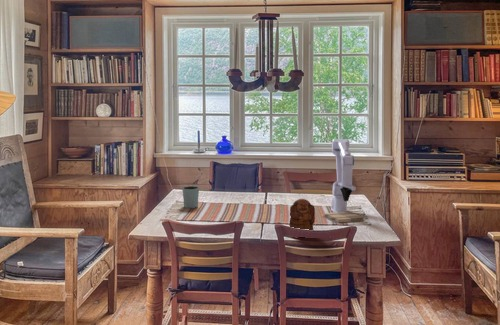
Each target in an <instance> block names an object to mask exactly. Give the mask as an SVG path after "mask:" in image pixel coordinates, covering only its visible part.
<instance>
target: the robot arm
mask: <svg viewBox="0 0 500 325" xmlns="http://www.w3.org/2000/svg"><path fill="white" fill-rule="evenodd" d="M331 153H332V155H334V156H335V162H336V163H335V168H336V181H334V182H333V184H332V196H333V197H332V198H331V208H330V211H332V212H344V211H349V212H351V211H350V210H348V201H349V199H350V197H351V194H352V192H353V191H356V189H357V187H356V186H355V185H353V171H354V170H353V168H354V167H353V166H354V165H355V156H354V155H352V154H351V151H350V140H349V139H348V138H342V139H341V138H332V140H331Z"/></svg>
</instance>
